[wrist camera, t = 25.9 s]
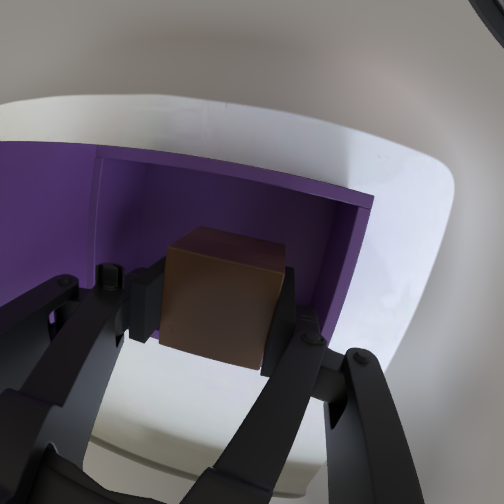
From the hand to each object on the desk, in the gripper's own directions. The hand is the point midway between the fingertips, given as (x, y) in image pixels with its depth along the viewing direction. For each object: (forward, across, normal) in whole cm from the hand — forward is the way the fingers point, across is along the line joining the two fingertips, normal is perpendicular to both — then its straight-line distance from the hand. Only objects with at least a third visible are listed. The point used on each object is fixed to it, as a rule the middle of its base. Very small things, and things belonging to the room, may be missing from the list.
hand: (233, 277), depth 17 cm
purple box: (+8, -2, 0) cm, 9 cm away
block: (0, 0, 0) cm, 0 cm away
